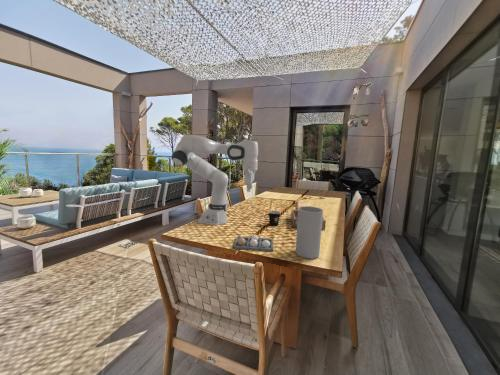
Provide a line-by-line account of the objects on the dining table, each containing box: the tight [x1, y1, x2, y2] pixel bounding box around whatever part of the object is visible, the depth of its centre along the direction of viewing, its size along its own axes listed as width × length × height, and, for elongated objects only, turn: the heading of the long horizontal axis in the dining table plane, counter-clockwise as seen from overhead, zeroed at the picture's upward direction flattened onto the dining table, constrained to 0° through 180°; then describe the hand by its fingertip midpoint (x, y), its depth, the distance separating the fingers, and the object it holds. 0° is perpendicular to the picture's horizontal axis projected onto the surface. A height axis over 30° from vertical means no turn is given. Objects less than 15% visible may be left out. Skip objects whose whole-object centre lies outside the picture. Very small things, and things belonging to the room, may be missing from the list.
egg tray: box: [232, 236, 274, 252], centre depth 129 cm, size 22×15×2 cm
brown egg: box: [238, 238, 246, 246], centre depth 127 cm, size 5×5×5 cm
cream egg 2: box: [250, 239, 258, 247], centre depth 126 cm, size 5×5×5 cm
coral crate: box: [290, 209, 327, 231], centre depth 173 cm, size 22×25×7 cm
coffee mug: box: [263, 210, 281, 227], centre depth 167 cm, size 12×9×10 cm
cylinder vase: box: [295, 205, 324, 260], centre depth 119 cm, size 12×12×25 cm
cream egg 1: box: [251, 234, 259, 241], centre depth 132 cm, size 5×5×5 cm
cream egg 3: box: [262, 240, 270, 248], centre depth 125 cm, size 5×5×5 cm
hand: (249, 190), depth 133 cm, fingers open, 8 cm apart
